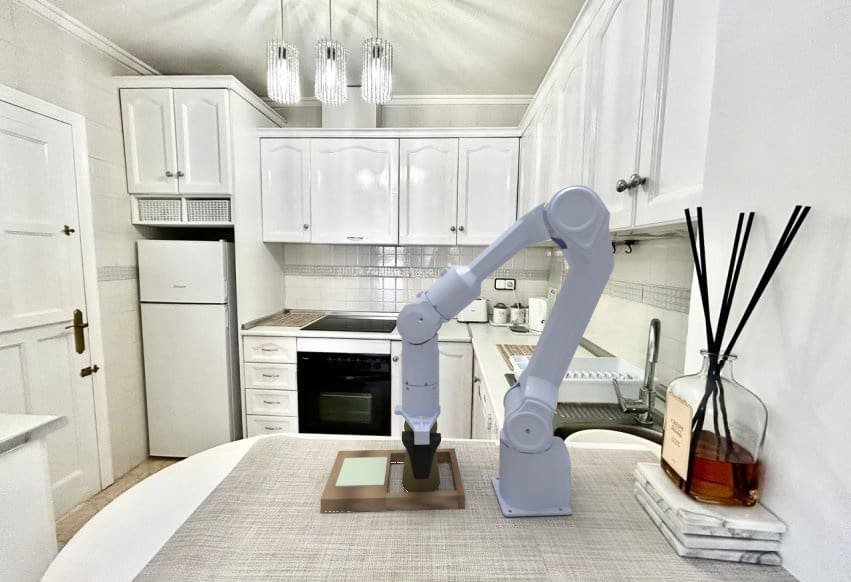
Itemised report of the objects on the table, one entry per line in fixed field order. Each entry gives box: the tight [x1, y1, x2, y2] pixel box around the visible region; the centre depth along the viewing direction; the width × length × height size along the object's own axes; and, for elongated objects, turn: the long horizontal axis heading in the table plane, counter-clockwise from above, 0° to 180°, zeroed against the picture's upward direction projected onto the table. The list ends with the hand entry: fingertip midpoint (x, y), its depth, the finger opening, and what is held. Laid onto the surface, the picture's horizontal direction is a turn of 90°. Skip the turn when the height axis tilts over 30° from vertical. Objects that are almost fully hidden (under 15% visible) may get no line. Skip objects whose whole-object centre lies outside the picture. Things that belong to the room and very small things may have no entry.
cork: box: [401, 419, 441, 492], centre depth 54 cm, size 6×6×11 cm
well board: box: [319, 447, 466, 513], centre depth 54 cm, size 20×12×2 cm, turn 92°
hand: (420, 464), depth 54 cm, fingers open, 6 cm apart
